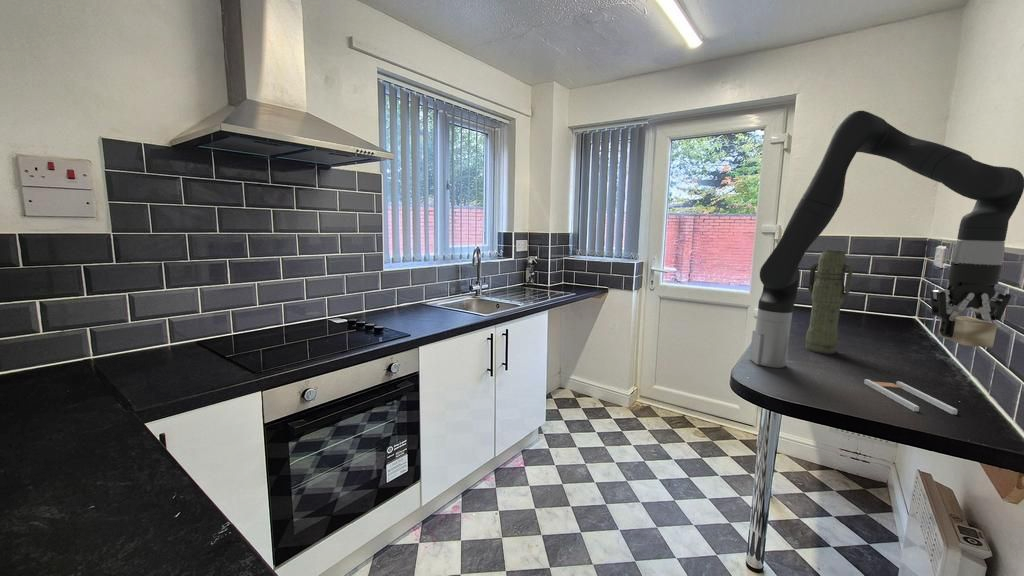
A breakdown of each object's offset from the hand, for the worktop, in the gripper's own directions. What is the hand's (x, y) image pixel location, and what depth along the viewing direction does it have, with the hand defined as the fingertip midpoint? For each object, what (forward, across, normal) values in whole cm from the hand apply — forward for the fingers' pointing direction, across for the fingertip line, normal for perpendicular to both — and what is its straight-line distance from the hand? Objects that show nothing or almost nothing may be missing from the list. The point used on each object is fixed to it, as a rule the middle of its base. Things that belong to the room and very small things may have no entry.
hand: (961, 336), depth 95 cm
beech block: (+1, 0, +1) cm, 1 cm away
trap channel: (+19, 0, -12) cm, 23 cm away
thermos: (+20, -1, -54) cm, 57 cm away
